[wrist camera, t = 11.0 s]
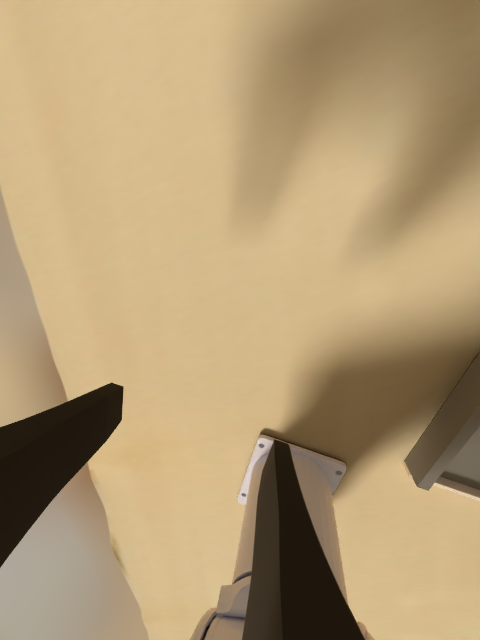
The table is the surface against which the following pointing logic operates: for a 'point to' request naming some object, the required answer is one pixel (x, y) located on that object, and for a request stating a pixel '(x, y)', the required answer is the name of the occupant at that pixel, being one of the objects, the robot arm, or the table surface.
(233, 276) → the table surface
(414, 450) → the grey tray
